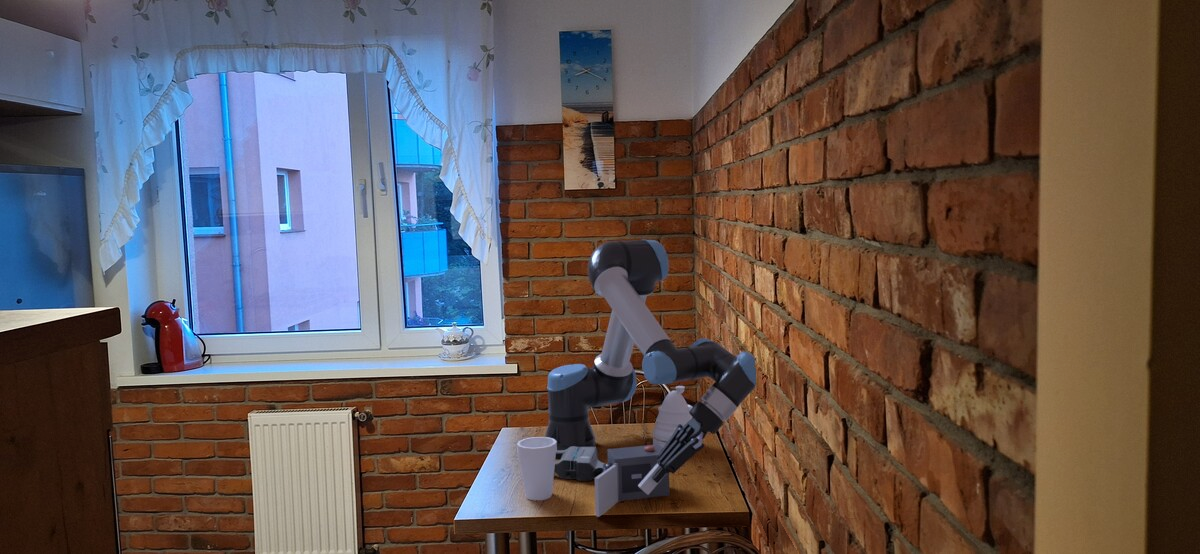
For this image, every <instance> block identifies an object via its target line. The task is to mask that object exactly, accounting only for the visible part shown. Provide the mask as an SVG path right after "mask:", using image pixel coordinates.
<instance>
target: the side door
mask: <svg viewBox="0 0 1200 554" xmlns="http://www.w3.org/2000/svg"><path fill="white" fill-rule="evenodd" d="M594 501H595V502H594V503H595V506H594V507H595V517H598V518H599V517H601V516H602V515H603V514H605V513H606V512H607V511H608V510H609V509H611V508H612V507H613V506H614V505H616V504H617V503H620V501H619V477H618V463H614V465H613V466H611V467H610V468H608V469H607V470H606V471H604V472H603V473H601V474H600V475H598V476H597V477H596V478H594Z"/></svg>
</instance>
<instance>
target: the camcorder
mask: <svg viewBox="0 0 1200 554" xmlns="http://www.w3.org/2000/svg"><path fill="white" fill-rule="evenodd" d="M598 453H599V452H598V448H597V447H596V446H595V447H575V446H571V447H569V448H568V449H566V450H560V451H559V450H557V452H556V458H555V469H554V474H557V476H558V478H560V479H565V480H566V479H567V480H569V479H570V480H571V479H575V480H577V481H579V482H580V481H581V482H590V481H591V480H593V479H595V478H596V477H597V476H598V475H600V474H601V473H603V465H604V464H606V463H604V462H602V461H600V460H599V454H598Z"/></svg>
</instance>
